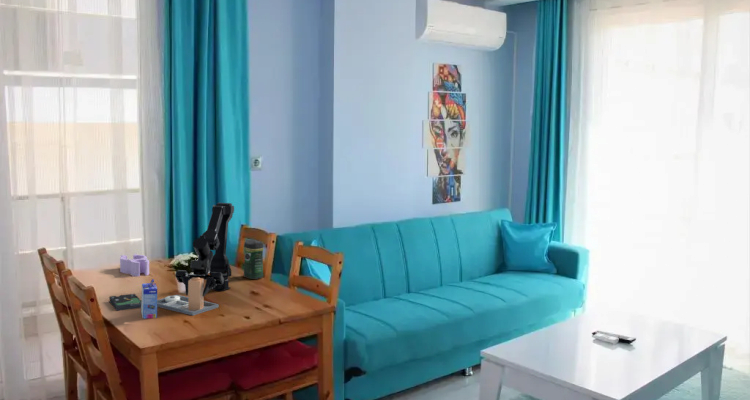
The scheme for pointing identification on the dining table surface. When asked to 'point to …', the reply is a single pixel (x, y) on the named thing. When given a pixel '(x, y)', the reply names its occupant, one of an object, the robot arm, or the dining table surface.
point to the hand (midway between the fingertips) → (194, 295)
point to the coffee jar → (253, 259)
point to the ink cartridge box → (149, 300)
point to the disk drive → (125, 302)
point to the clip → (134, 265)
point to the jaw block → (195, 293)
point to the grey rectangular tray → (183, 305)
